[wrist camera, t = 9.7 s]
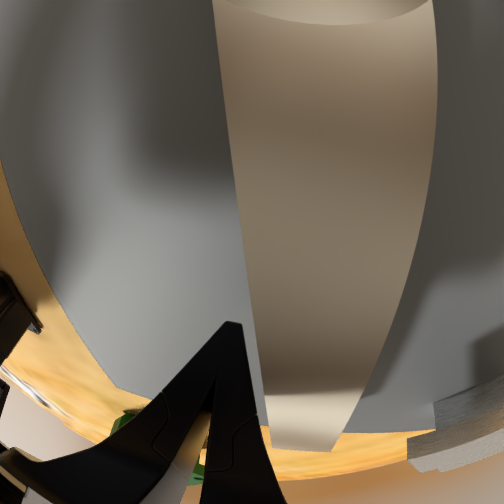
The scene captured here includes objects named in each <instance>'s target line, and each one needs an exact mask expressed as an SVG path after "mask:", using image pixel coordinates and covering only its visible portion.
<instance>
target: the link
mask: <svg viewBox="0 0 504 504" xmlns="http://www.w3.org/2000/svg"><path fill="white" fill-rule="evenodd" d="M212 2H213V11H214V19H215V28H216V36H217V45H218V53H219V61H220V70H221V78H222V86H223V94H224V102H225V110H226V118H227V126H228V134H229V142H230V149H231V157H232V165H233V173H234V180H235V188H236V195H237V203H238V211H239V218H240V225H241V233H242V240H243V248H244V255H245V262H246V270H247V277H248V284H249V291H250V299H251V306H252V313H253V320H254V327H255V334H256V341H257V348H258V355H259V362H260V369H261V376H262V383H263V390H264V397H265V403H266V410H267V417H268V424H269V430H270V437H271V444H272V448H275V449H285V450H297V451H314V452H331V450H332V448H333V447H334V445H335V443H336V442H337V440H338V438H339V436H340V435H341V433H342V431H343V429H344V428H345V426H346V424H347V422H348V420H349V418H350V416H351V415H352V413H353V411H354V409H355V407H356V405H357V403H358V401H359V399H360V397H361V395H362V393H363V391H364V389H365V387H366V384H367V382H368V380H369V378H370V376H371V374H372V371H373V369H374V367H375V365H376V362H377V360H378V357H379V355H380V353H381V350H382V348H383V345H384V343H385V340H386V338H387V335H388V333H389V330H390V327H391V325H392V322H393V319H394V316H395V313H396V311H397V308H398V305H399V302H400V299H401V296H402V293H403V289H404V286H405V283H406V280H407V276H408V273H409V270H410V266H411V262H412V259H413V255H414V251H415V247H416V243H417V239H418V235H419V231H420V226H421V222H422V217H423V212H424V207H425V202H426V197H427V191H428V185H429V179H430V172H431V165H432V157H433V149H434V139H435V128H436V113H437V82H438V74H437V44H436V30H435V20H434V11H433V3H432V0H212Z"/></svg>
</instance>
